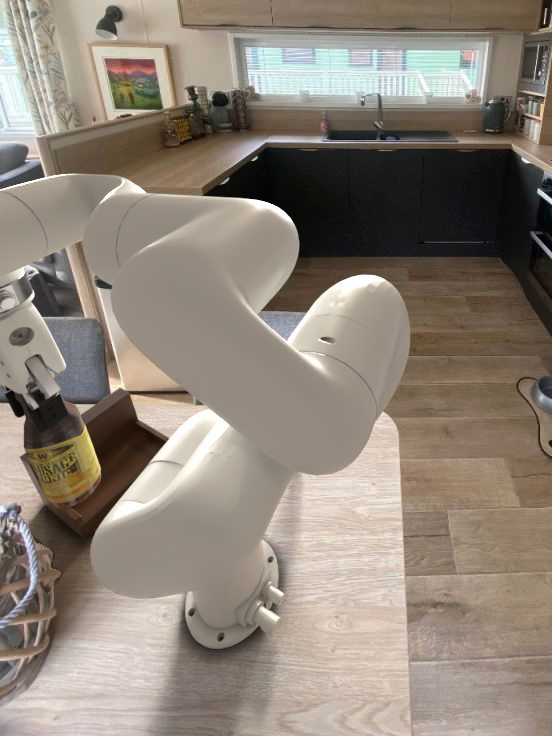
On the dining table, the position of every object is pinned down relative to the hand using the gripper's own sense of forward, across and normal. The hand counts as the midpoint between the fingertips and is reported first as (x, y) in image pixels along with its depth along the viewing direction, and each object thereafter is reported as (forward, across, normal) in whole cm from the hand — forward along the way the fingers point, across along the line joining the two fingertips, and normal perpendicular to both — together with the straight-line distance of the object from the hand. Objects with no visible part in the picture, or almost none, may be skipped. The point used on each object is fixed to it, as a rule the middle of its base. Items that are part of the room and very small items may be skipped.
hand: (42, 414), depth 50 cm
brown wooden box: (+28, +10, -7) cm, 31 cm away
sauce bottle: (+15, 0, 0) cm, 15 cm away
